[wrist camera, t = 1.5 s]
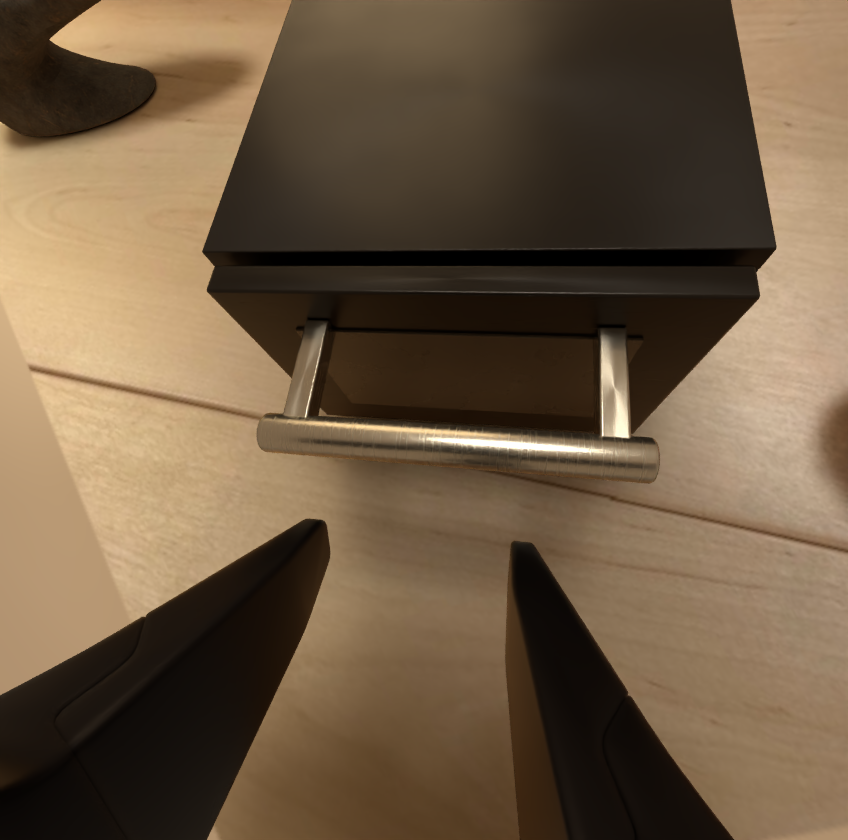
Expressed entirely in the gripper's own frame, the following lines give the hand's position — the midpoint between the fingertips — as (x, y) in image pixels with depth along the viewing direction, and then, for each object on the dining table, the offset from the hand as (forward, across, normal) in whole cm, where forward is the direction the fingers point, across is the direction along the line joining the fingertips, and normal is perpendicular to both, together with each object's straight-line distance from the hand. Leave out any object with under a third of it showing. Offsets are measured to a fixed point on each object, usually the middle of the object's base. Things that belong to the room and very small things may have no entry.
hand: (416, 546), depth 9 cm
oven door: (+12, 0, +4) cm, 12 cm away
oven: (+20, 0, -1) cm, 20 cm away
